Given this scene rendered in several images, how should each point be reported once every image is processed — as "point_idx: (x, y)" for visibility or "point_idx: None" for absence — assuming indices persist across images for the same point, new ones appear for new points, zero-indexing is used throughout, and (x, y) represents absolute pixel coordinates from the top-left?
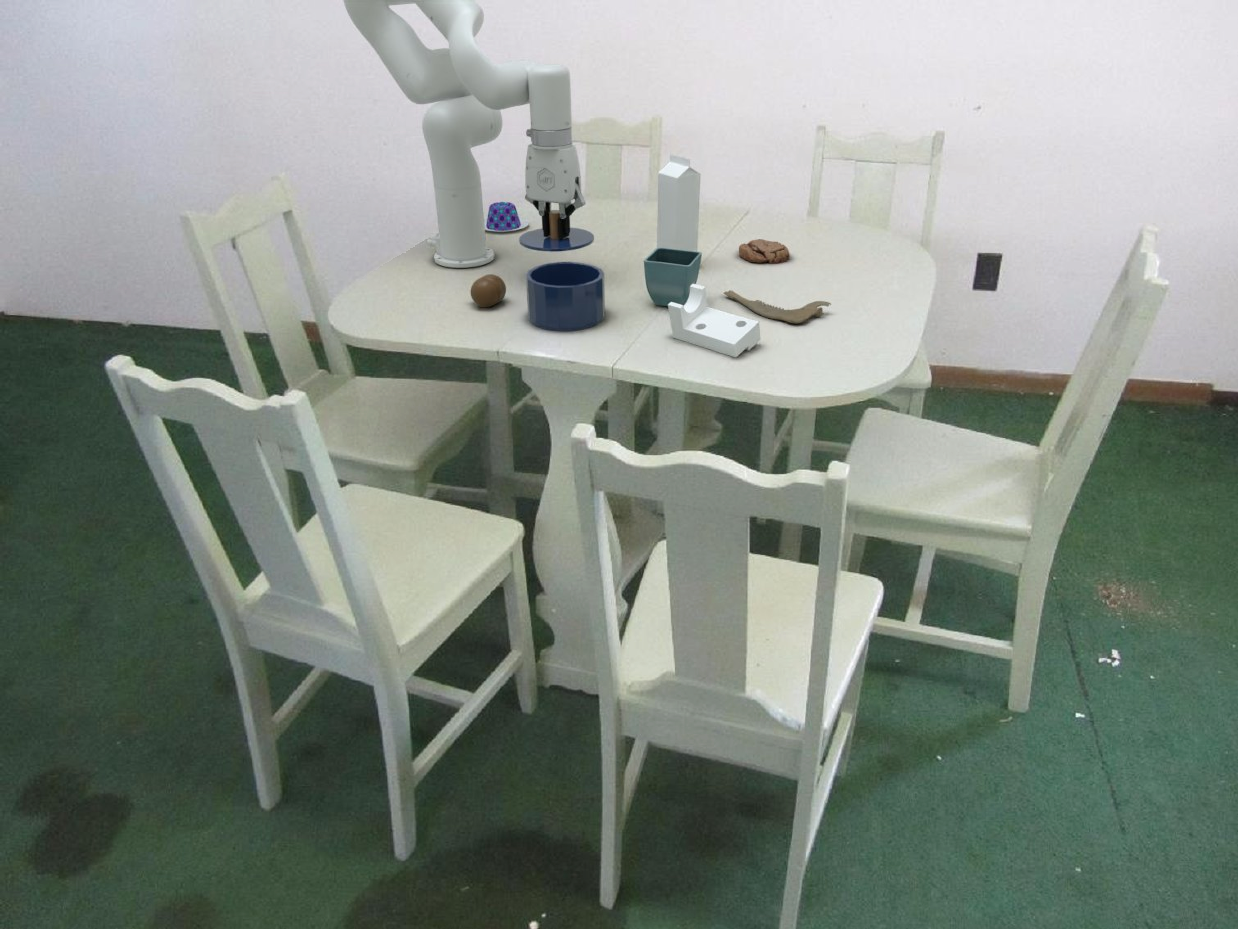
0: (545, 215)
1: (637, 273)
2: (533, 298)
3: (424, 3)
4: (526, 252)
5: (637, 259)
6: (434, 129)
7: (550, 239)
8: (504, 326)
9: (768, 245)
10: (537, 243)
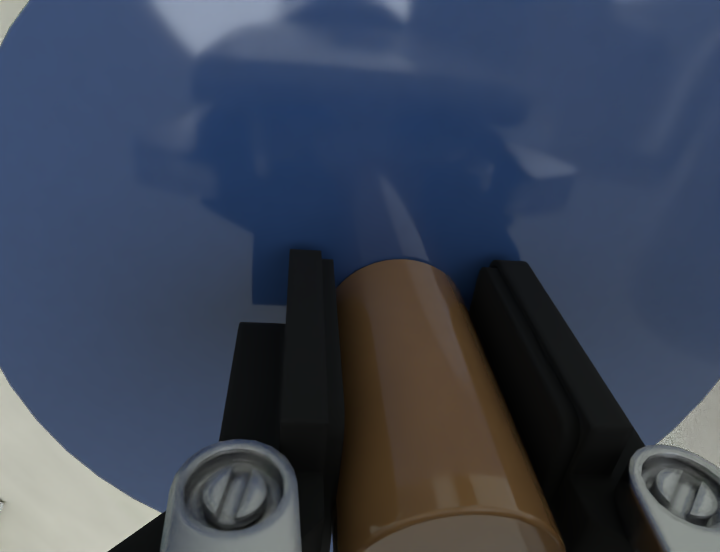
0: (599, 479)
1: (6, 393)
2: None
3: None
4: (666, 439)
5: (136, 527)
6: None
7: (429, 236)
8: None
9: None
10: (530, 31)
